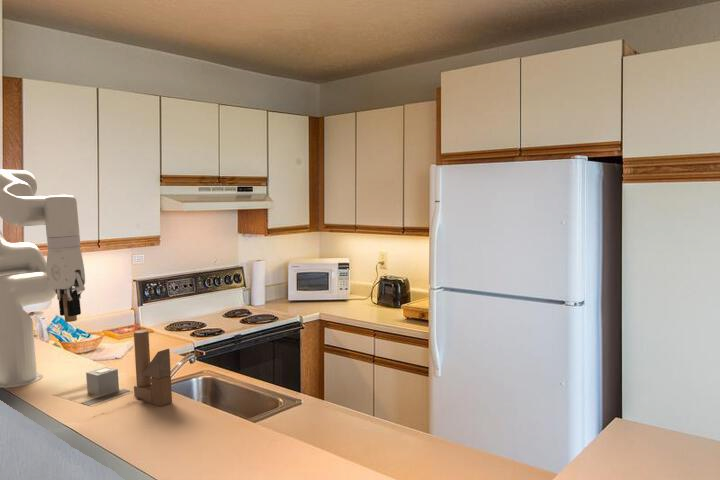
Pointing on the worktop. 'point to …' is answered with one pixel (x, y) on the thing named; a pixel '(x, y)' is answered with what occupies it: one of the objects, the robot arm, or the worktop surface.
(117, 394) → the panel
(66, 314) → the grey-capped wooden cylinder
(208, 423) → the worktop surface
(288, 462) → the worktop surface
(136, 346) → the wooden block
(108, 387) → the block
